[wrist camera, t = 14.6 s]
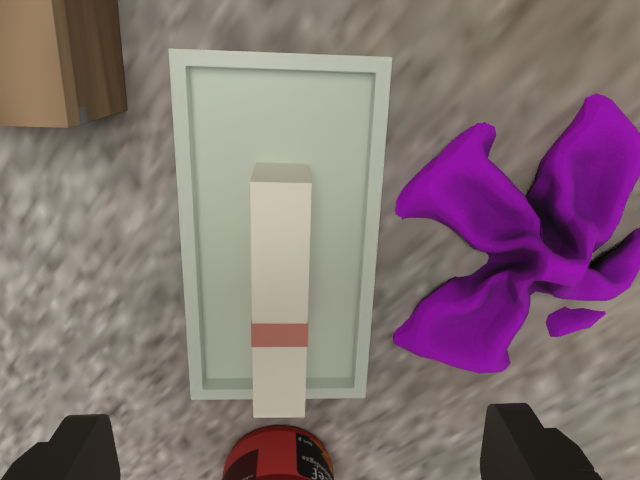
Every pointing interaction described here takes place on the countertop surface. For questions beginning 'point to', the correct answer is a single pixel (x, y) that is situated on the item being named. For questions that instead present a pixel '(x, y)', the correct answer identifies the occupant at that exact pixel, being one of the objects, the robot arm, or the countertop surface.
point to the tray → (235, 215)
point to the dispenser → (60, 62)
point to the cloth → (525, 236)
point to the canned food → (278, 456)
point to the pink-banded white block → (280, 287)
